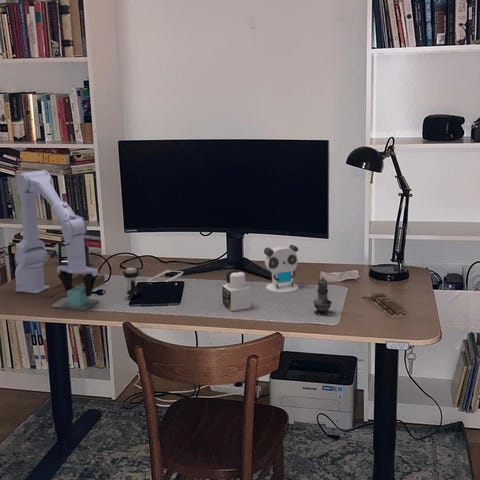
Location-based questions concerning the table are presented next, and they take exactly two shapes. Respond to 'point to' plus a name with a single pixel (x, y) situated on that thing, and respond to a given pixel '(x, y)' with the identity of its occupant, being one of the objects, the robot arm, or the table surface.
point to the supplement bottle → (87, 253)
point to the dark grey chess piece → (322, 299)
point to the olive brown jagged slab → (387, 304)
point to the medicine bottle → (236, 291)
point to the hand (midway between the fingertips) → (79, 294)
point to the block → (77, 296)
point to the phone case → (164, 273)
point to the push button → (131, 281)
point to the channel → (75, 280)
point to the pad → (83, 307)
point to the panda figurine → (281, 268)
